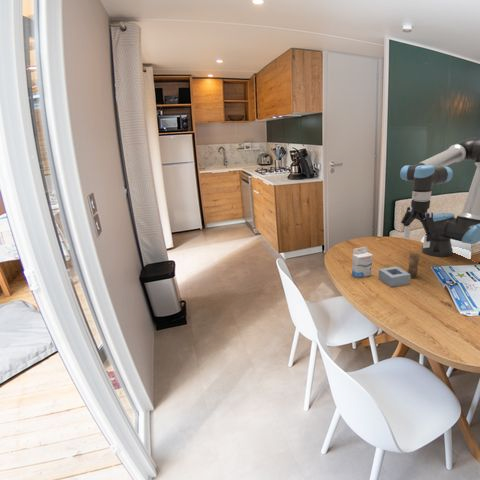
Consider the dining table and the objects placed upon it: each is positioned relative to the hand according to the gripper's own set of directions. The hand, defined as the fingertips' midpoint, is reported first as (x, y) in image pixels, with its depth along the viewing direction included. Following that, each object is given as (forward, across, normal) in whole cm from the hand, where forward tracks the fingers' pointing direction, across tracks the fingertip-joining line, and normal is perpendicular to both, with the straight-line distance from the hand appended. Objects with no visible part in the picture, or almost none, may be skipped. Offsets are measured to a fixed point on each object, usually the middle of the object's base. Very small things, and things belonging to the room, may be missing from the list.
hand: (415, 242), depth 145 cm
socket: (+18, +1, -11) cm, 21 cm away
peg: (+18, 0, 0) cm, 18 cm away
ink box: (+19, -10, -22) cm, 30 cm away
